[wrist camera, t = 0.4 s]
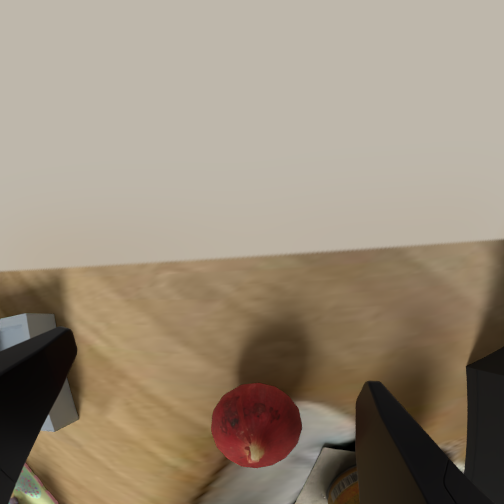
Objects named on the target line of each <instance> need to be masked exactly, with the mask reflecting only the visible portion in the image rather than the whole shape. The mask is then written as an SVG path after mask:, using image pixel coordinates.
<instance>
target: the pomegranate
mask: <svg viewBox="0 0 504 504" xmlns="http://www.w3.org/2000/svg"><path fill="white" fill-rule="evenodd" d="M301 430H302V423H301V418H300V413H299V409H298V408H297V406H296V405H295V404H294V402H293V401H292V400H291V398H290V397H289V396H288V395H287V394H285V393H284V392H282V391H281V390H279V389H278V388H277V387H274V386H270V385H266V384H262V383H253V384H243V385H240V386H238V387H237V388H235V389H233V390H231V391H230V392H228V393H226V394H225V395H224V396H223V397H222V398H221V400H220V401H219V403H218V404H217V406H216V407H215V409H214V411H213V415H212V426H211V431H212V435H213V438H214V441H215V443H216V446H217V448H218V449H219V450H220V451H221V452H222V453H223V454H224V455H225V456H226V457H227V458H228V459H229V460H231V461H233V462H235V463H236V464H238V465H240V466H243V467H252V468H259V467H265V466H270V465H273V464H275V463H277V462H279V461H281V460H282V459H284V458H286V457H287V455H288V454H289V453H290V452H291V451H292V450H293V448H294V447H295V446H296V445H297V443H298V440H299V437H300V433H301Z"/></svg>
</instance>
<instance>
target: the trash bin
mask: <svg viewBox="0 0 504 504" xmlns="http://www.w3.org/2000/svg"><path fill="white" fill-rule="evenodd" d="M466 374H467V400H468V422H467V447H466V460H465V470H464V475H465V476H466V477H467V478H468V479H469V480H470V481H471V482H472V483H473V484H474V485H475V486H476V487H477V488H478V489H480V490H481V491H482V492H483V493H484V494H485V495H486V496H487V497H489V498H490V499H491V500H492V501H493V502H494V503H495V504H504V347H502V348H501V349H499V350H497V351H495V352H493V353H492V354H490V355H488V356H486V357H484V358H482V359H480V360H478V361H476V362H474V363H472V364H470V365H468V366H466Z"/></svg>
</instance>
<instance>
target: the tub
mask: <svg viewBox="0 0 504 504" xmlns="http://www.w3.org/2000/svg"><path fill="white" fill-rule="evenodd" d="M54 328H56V323H55V317H54V314H36V313H25V314H20V315H15V316H11V317H6V318H1V319H0V351H2V350H4V349H6V348H9V347H11V346H13V345H16V344H18V343H21V342H23V341H25V340H28V339H30V338H32V337H35V336H37V335H40V334H42V333H44V332H47V331H49V330H52V329H54ZM77 420H79V417H78V414H77V411H76V408H75V405H74V401H73V398H72V395H71V391H70V387H69V384H68V380H67V378H66V380H65V383H64V385H63V387H62V390H61V392H60V394H59V396H58V398H57V399H56V401H55V403H54V405H53V407H52V409H51V411H50V413H49V415H48V417H47V418H46V420H45V422H44V424H43V426H42V428H41V430H42V431H52V432H55V431H57V430H59V429H61V428H63V427H65V426H67V425H69V424H71V423H73V422H75V421H77Z"/></svg>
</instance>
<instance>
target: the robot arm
mask: <svg viewBox="0 0 504 504" xmlns="http://www.w3.org/2000/svg"><path fill="white" fill-rule="evenodd" d="M76 355H77V346H76V343H75V339H74V336H73V332H72V331H71V329H69V328H66V327H63V326H59V327H56V328H54V329H52V330H49V331H47V332H44V333H42V334H40V335H37V336H35V337H32V338H30V339H28V340H25V341H23V342H21V343H18V344H16V345H13V346H11V347H9V348H6V349H4V350H2V351H0V504H8V503H9V501H10V498H11V496H12V493H13V491H14V488H15V486H16V483H17V480H18V478H19V476H20V473H21V471H22V469H23V467H24V464H25V462H26V460H27V458H28V455H29V453H30V451H31V449H32V447H33V445H34V443H35V441H36V439H37V436H38V434H39V432H40V430H41V428H42V426H43V424H44V422H45V420H46V418H47V417H48V415H49V413H50V411H51V409H52V407H53V405H54V403H55V401H56V399H57V398H58V396H59V394H60V392H61V390H62V387H63V385H64V383H65V380H66V378H67V376H68V373H69V371H70V369H71V366H72V364H73V362H74V360H75V357H76ZM355 450H356V462H357V473H358V485H359V500H360V504H495V503H494V502H493V501H492V500H491V499H490V498H489V497H487V496H486V495H485V494H484V493H483V492H482V491H481V490H480V489H478V488H477V487H476V486H475V485H474V484H473V483H472V482H471V481H470V480H469V479H468V478H467V477H466V476H465V475H464V474H463V473H462V472H461V471H460V470H459V469H458V468H457V467H456V465H455V464H454V463H453V462H452V461H451V460H450V459H448V457H447V455H446V454H445V453H444V452H443V451H442V450H441V449H440V448H439V446H438V445H437V444H436V443H435V442H434V441H433V440H432V439H431V437H430V436H429V435H428V434H427V433H426V432H425V431H424V430H423V429H422V427H421V426H420V425H419V424H418V423H417V422H416V421H415V420H414V419H413V417H412V416H411V415H410V414H409V413H408V412H407V411H406V410H405V408H404V407H403V406H402V405H401V404H400V403H399V402H398V401H397V400H396V398H395V397H394V396H393V395H392V394H391V393H390V392H389V391H388V390H387V389H386V387H385V386H384V385H383V384H382V383H381V382H379V381H367V382H365V384H364V386H363V388H362V390H361V392H360V394H359V396H358V398H357V401H356V440H355Z"/></svg>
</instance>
